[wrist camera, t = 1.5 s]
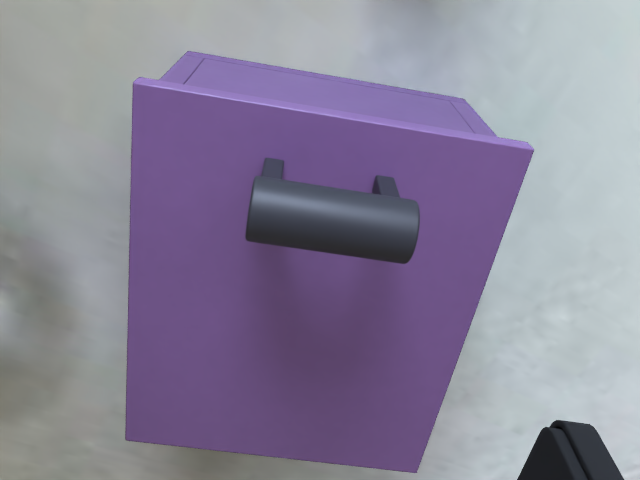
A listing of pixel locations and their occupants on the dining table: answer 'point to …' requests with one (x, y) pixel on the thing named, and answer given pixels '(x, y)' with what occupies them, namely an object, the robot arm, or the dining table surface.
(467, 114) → the file box
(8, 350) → the dining table surface
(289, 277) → the lid
